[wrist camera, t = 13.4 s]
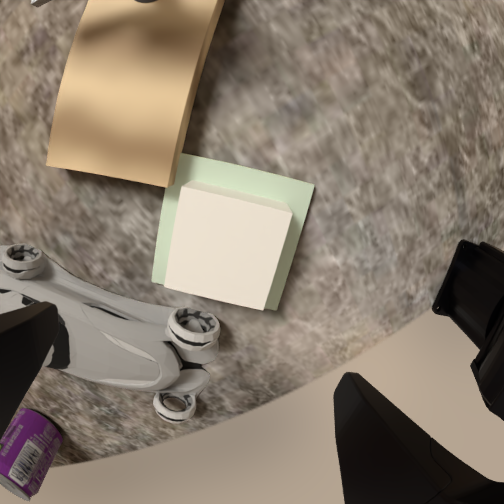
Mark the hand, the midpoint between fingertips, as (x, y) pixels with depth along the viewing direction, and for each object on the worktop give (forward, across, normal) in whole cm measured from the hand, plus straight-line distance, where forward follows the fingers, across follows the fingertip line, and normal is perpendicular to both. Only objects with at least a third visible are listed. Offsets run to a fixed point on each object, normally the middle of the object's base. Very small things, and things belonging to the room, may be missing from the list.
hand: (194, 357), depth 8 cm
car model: (+13, +11, +10) cm, 20 cm away
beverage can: (+13, +20, +31) cm, 39 cm away
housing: (+12, +8, -10) cm, 18 cm away
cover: (+12, 0, 0) cm, 12 cm away
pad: (+12, 0, 0) cm, 12 cm away
